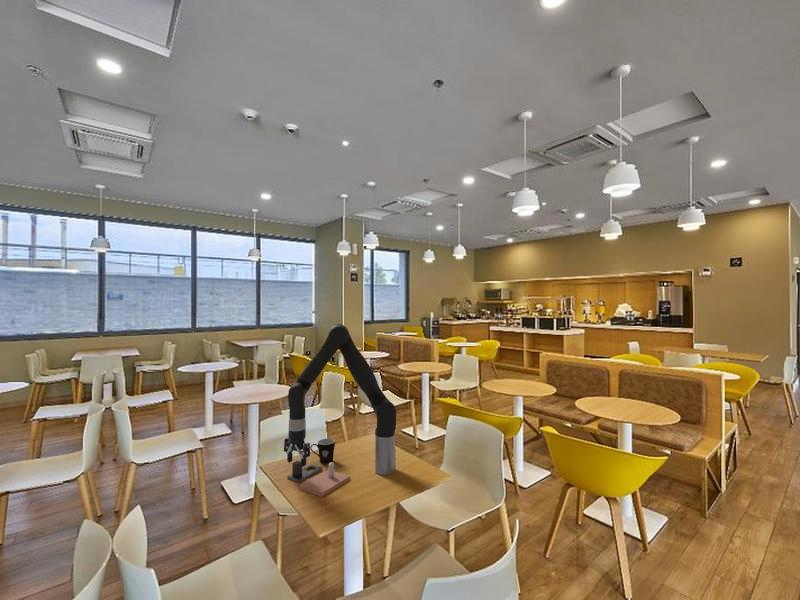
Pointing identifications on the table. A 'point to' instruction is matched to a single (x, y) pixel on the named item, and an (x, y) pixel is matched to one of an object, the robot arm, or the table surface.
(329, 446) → the coffee mug
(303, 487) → the pink board with peg
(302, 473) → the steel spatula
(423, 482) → the table surface
